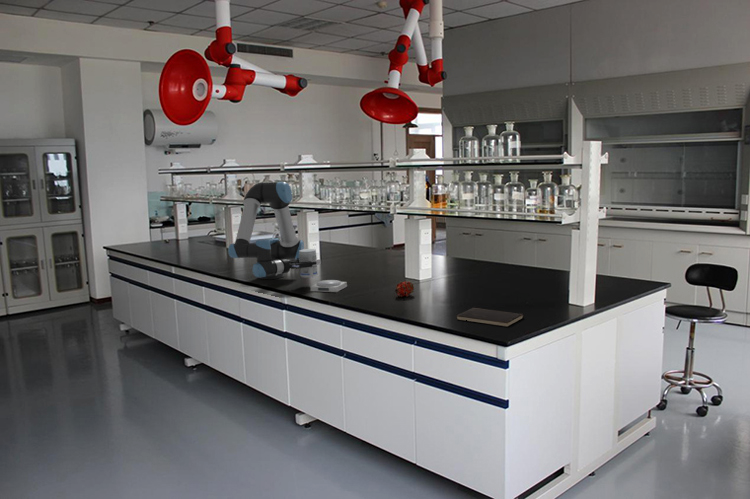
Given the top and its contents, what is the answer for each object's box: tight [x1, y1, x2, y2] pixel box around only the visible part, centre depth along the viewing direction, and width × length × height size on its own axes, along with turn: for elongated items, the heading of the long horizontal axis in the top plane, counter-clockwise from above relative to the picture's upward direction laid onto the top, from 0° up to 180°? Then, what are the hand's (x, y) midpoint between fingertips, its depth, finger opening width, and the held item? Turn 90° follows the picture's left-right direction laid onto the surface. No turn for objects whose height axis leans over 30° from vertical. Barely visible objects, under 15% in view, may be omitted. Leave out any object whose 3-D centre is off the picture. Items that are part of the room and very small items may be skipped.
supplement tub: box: [299, 248, 318, 278], centre depth 328 cm, size 10×10×15 cm
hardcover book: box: [455, 307, 524, 327], centre depth 248 cm, size 16×23×2 cm
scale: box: [309, 279, 348, 293], centre depth 320 cm, size 15×15×4 cm
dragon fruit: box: [394, 279, 415, 298], centre depth 296 cm, size 8×8×12 cm
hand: (314, 260), depth 331 cm, fingers closed on supplement tub, 9 cm apart
